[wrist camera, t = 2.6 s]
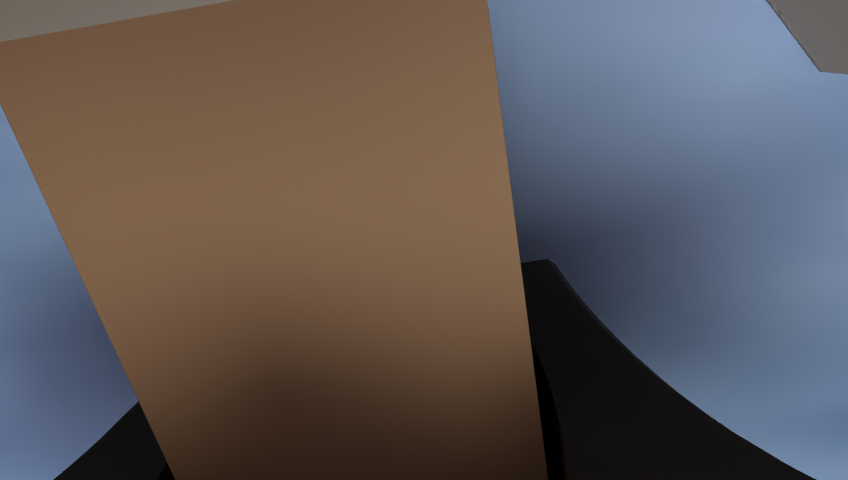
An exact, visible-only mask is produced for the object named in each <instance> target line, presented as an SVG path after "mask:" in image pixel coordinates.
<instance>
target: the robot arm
mask: <svg viewBox="0 0 848 480" xmlns="http://www.w3.org/2000/svg"><path fill="white" fill-rule="evenodd" d="M521 271H522V279H523V286H524V294H525V302H526V310H527V318H528V325H529V333H530V341H531V349H532V357H533V365H534V372H535V380H536V388H537V396H538V404H539V412H540V419H541V427H542V435H543V443H544V451H545V459H546V466H547V474H548V480H816V479H814V478H812V477H810V476H808V475H806V474H804V473H802V472H800V471H798V470H796V469H794V468H793V467H791V466H789V465H787V464H785V463H784V462H782V461H780V460H779V459H777V458H775V457H774V456H772V455H770V454H769V453H767V452H765V451H764V450H762V449H760V448H759V447H757V446H755V445H754V444H752V443H750V442H749V441H747V440H745V439H744V438H742V437H740V436H739V435H737V434H735V433H734V432H732V431H731V430H729V429H728V428H726V427H725V426H723V425H722V424H720V423H719V422H718V421H716V420H715V419H713V418H712V417H710V416H709V415H707V414H706V413H705V412H703V411H702V410H701V409H699V408H698V407H697V406H695V405H694V404H693V403H691V402H690V401H689V400H687V399H686V398H685V397H683V396H682V395H681V394H679V393H678V392H677V391H676V390H674V389H673V388H672V387H671V386H669V385H668V384H667V383H666V382H665V381H663V380H662V379H661V378H660V377H659V376H657V375H656V374H655V373H654V372H653V371H652V370H651V369H650V368H648V367H647V366H646V365H645V364H644V363H643V362H642V361H641V360H639V359H638V358H637V357H636V356H635V355H634V354H633V353H632V352H631V351H630V350H629V349H628V348H627V347H626V346H625V345H624V344H622V343H621V342H620V341H619V340H618V338H617V337H616V336H615V335H614V334H613V333H612V332H611V331H610V330H609V329H608V328H607V327H606V326H605V325H604V324H603V323H602V322H601V321H600V320H599V319H598V318H597V317H596V316H595V314H594V313H593V312H592V311H591V310H590V309H589V308H588V307H587V305H586V304H585V303H584V302H583V301H582V299H581V298H580V297H579V296H578V295H577V293H576V292H575V291H574V290H573V288H572V287H571V286H570V285H569V283H568V282H567V281H566V279H565V278H564V276H563V275H562V274H561V272H560V271H559V269H558V267H557V266H556V265H555V264H554V263H552V262H551V261H550V260H548V259H546V260H539V261H532V262H525V263H521ZM54 480H175V478H174V476H173V474H172V472H171V469H170V467H169V465H168V463H167V461H166V459H165V457H164V454H163V452H162V450H161V448H160V446H159V444H158V442H157V439H156V437H155V435H154V433H153V431H152V429H151V427H150V424H149V422H148V420H147V418H146V416H145V414H144V411H143V409H142V407H141V405H140V403H139V401H138V402H137V403H136V404H135V405H134V406H133V407H132V408H131V409H130V410H129V411H128V412H127V413H126V414H125V415H124V416H123V417H122V418H121V419H120V420H119V421H118V422H117V423H116V424H115V425H114V426H113V427H112V428H111V429H110V430H109V431H108V432H107V433H106V434H105V435H104V436H103V437H102V438H101V439H100V440H99V441H98V442H96V443H95V444H94V445H93V446H92V447H91V448H90V449H89V450H88V451H87V452H85V453H84V454H83V455H82V456H81V457H80V458H79V459H77V460H76V461H75V462H74V463H73V464H72V465H71V466H69V467H68V468H67V469H66V470H65V471H63V472H62V473H61V474H60V475H59V476H57V477H56V478H55V479H54Z"/></svg>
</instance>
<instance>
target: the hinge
mask: <svg viewBox="0 0 848 480" xmlns="http://www.w3.org/2000/svg"><path fill="white" fill-rule="evenodd" d="M767 1H768V2H769V4H770V5H771V6H772V8H773V9H774V10H775V12H776V13H777V14H778V16H779V17H780V18H781V20H782V21H783V22H784V24H785V25H786V26H787V28H788V29H789V30H790V32H791V33H792V34H793V36H794V37H795V38H796V40H797V41H798V42H799V44H800V45H801V46H802V48H803V49H804V50H805V52H806V53H807V54H808V56H809V57H810V58H811V60H812V61H813V62H814V64H815V65H816V66H817V68H818V69H819V70H820V72H830V73H841V74H848V0H767Z"/></svg>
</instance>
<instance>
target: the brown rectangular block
mask: <svg viewBox="0 0 848 480" xmlns="http://www.w3.org/2000/svg"><path fill="white" fill-rule="evenodd" d="M0 105H1V107H2V109H3V111H4V113H5V115H6V117H7V120H8V122H9V124H10V126H11V128H12V130H13V132H14V135H15V137H16V139H17V141H18V143H19V145H20V147H21V150H22V152H23V154H24V156H25V158H26V160H27V162H28V165H29V167H30V169H31V171H32V173H33V175H34V177H35V180H36V182H37V184H38V186H39V188H40V190H41V193H42V195H43V197H44V199H45V201H46V203H47V205H48V208H49V210H50V212H51V214H52V216H53V218H54V220H55V223H56V225H57V227H58V229H59V231H60V233H61V235H62V238H63V240H64V242H65V244H66V246H67V248H68V250H69V253H70V255H71V257H72V259H73V261H74V263H75V266H76V268H77V270H78V272H79V274H80V276H81V278H82V281H83V283H84V285H85V287H86V289H87V291H88V293H89V296H90V298H91V300H92V302H93V304H94V306H95V308H96V311H97V313H98V315H99V317H100V319H101V321H102V323H103V326H104V328H105V330H106V332H107V334H108V336H109V338H110V341H111V343H112V345H113V347H114V349H115V351H116V354H117V356H118V358H119V360H120V362H121V364H122V366H123V369H124V371H125V373H126V375H127V377H128V379H129V381H130V384H131V386H132V388H133V390H134V392H135V394H136V396H137V399H138V401H139V403H140V405H141V407H142V409H143V411H144V414H145V416H146V418H147V420H148V422H149V424H150V427H151V429H152V431H153V433H154V435H155V437H156V439H157V442H158V444H159V446H160V448H161V450H162V452H163V454H164V457H165V459H166V461H167V463H168V465H169V467H170V469H171V472H172V474H173V476H174V478H175V480H548V474H547V466H546V459H545V451H544V443H543V435H542V427H541V419H540V412H539V404H538V396H537V388H536V380H535V372H534V365H533V357H532V349H531V341H530V333H529V325H528V318H527V310H526V302H525V294H524V286H523V279H522V271H521V263H520V255H519V247H518V239H517V232H516V224H515V216H514V208H513V200H512V192H511V185H510V177H509V169H508V161H507V153H506V145H505V138H504V130H503V122H502V114H501V106H500V99H499V91H498V83H497V75H496V67H495V59H494V52H493V44H492V36H491V28H490V20H489V12H488V5H487V0H0Z"/></svg>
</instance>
